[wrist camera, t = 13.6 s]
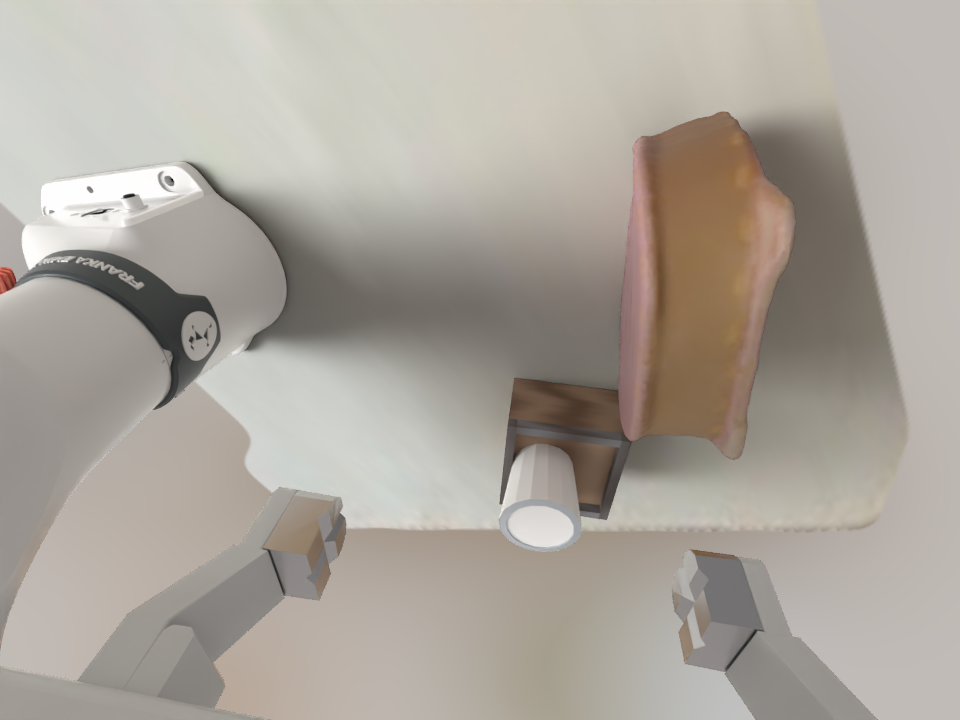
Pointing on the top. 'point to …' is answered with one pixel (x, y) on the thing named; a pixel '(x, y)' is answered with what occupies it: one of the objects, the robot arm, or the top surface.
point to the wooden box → (571, 436)
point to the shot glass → (541, 500)
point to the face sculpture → (698, 281)
